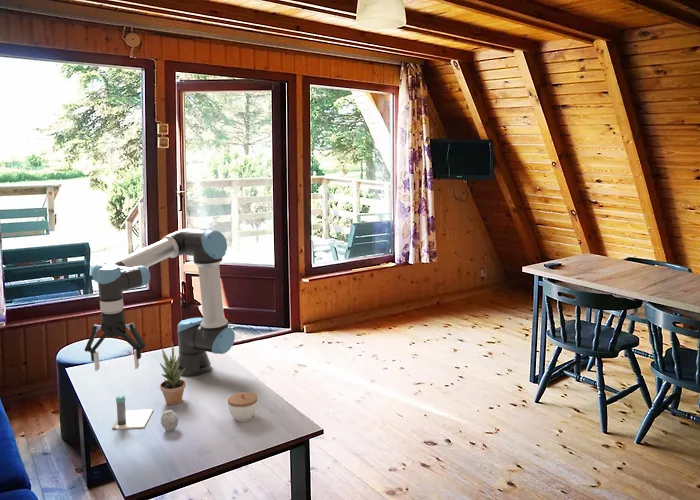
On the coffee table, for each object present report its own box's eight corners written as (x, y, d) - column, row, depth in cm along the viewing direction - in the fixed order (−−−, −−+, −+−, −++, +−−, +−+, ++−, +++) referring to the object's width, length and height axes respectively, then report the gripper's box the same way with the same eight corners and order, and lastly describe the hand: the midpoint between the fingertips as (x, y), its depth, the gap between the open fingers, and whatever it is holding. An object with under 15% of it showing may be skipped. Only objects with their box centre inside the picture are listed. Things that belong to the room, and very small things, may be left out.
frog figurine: (173, 423, 213) (172, 405, 212) (182, 430, 208) (181, 412, 207) (157, 429, 209) (156, 410, 208) (166, 436, 204) (164, 417, 203)
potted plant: (163, 408, 226) (159, 346, 221) (159, 399, 234) (155, 339, 230) (190, 403, 230) (186, 342, 226) (184, 394, 239) (181, 335, 234)
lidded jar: (230, 411, 223) (229, 388, 221) (259, 410, 224) (258, 387, 222) (226, 425, 212) (225, 400, 211) (257, 423, 213) (256, 399, 211)
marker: (127, 421, 214) (125, 395, 212) (125, 425, 211) (123, 398, 209) (118, 421, 214) (117, 395, 212) (116, 425, 211) (114, 399, 209)
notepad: (153, 410, 224) (153, 409, 224) (144, 428, 210) (144, 426, 210) (123, 411, 223) (123, 410, 223) (112, 429, 209) (112, 427, 209)
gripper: (151, 306, 211) (155, 362, 215) (78, 309, 209) (84, 366, 213) (146, 312, 204) (151, 370, 208) (71, 315, 201) (77, 374, 205)
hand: (117, 368), depth 210 cm, fingers open, 13 cm apart
